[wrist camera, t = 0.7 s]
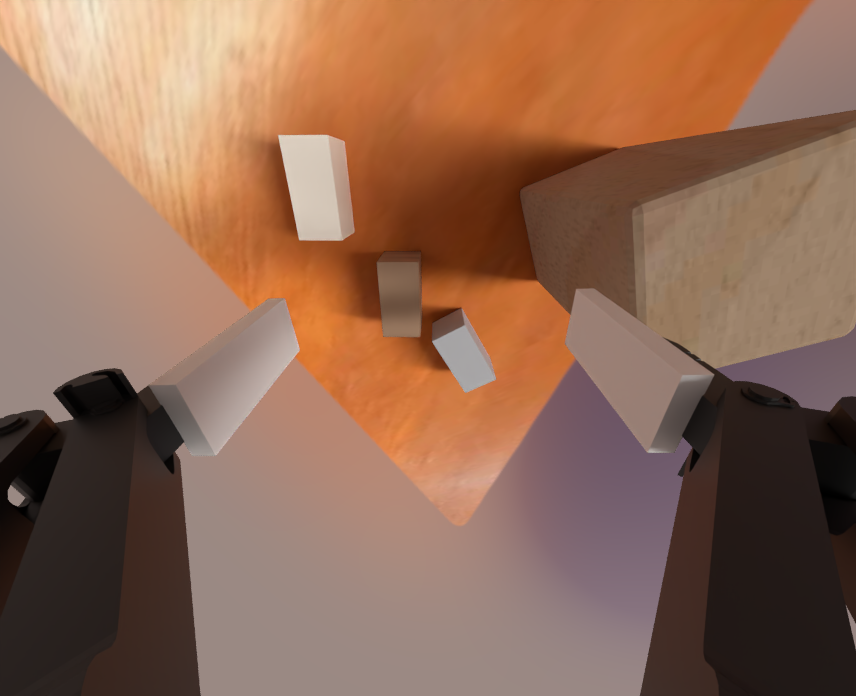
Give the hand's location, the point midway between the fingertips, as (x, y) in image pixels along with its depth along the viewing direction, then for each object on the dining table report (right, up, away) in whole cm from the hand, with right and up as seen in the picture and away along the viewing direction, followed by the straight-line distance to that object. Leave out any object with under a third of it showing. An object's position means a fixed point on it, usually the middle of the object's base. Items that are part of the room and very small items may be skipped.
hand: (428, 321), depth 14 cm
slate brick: (+4, 0, +24) cm, 25 cm away
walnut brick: (-3, +6, +21) cm, 22 cm away
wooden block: (+15, +12, +17) cm, 26 cm away
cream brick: (-10, +15, +16) cm, 24 cm away
